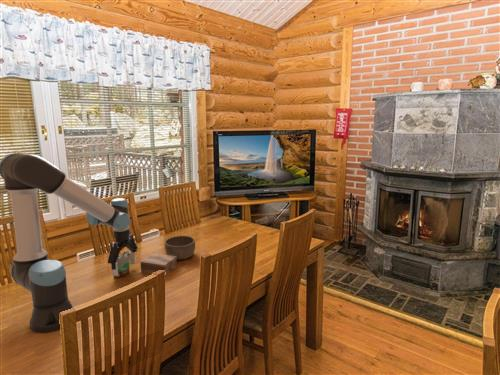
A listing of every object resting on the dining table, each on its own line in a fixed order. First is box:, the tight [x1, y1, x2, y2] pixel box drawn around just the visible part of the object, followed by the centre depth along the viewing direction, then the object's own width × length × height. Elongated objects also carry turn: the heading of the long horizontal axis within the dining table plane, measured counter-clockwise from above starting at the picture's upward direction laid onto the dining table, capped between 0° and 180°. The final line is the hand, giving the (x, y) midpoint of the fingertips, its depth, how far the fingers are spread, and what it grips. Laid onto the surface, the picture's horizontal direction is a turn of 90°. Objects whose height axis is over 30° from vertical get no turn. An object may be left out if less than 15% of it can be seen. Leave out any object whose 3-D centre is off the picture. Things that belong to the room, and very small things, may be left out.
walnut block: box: [140, 252, 178, 276], centre depth 176 cm, size 12×14×6 cm
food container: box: [113, 251, 131, 279], centre depth 170 cm, size 12×6×10 cm, turn 168°
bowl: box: [164, 235, 196, 261], centre depth 193 cm, size 17×18×10 cm
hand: (124, 269), depth 171 cm, fingers open, 13 cm apart
